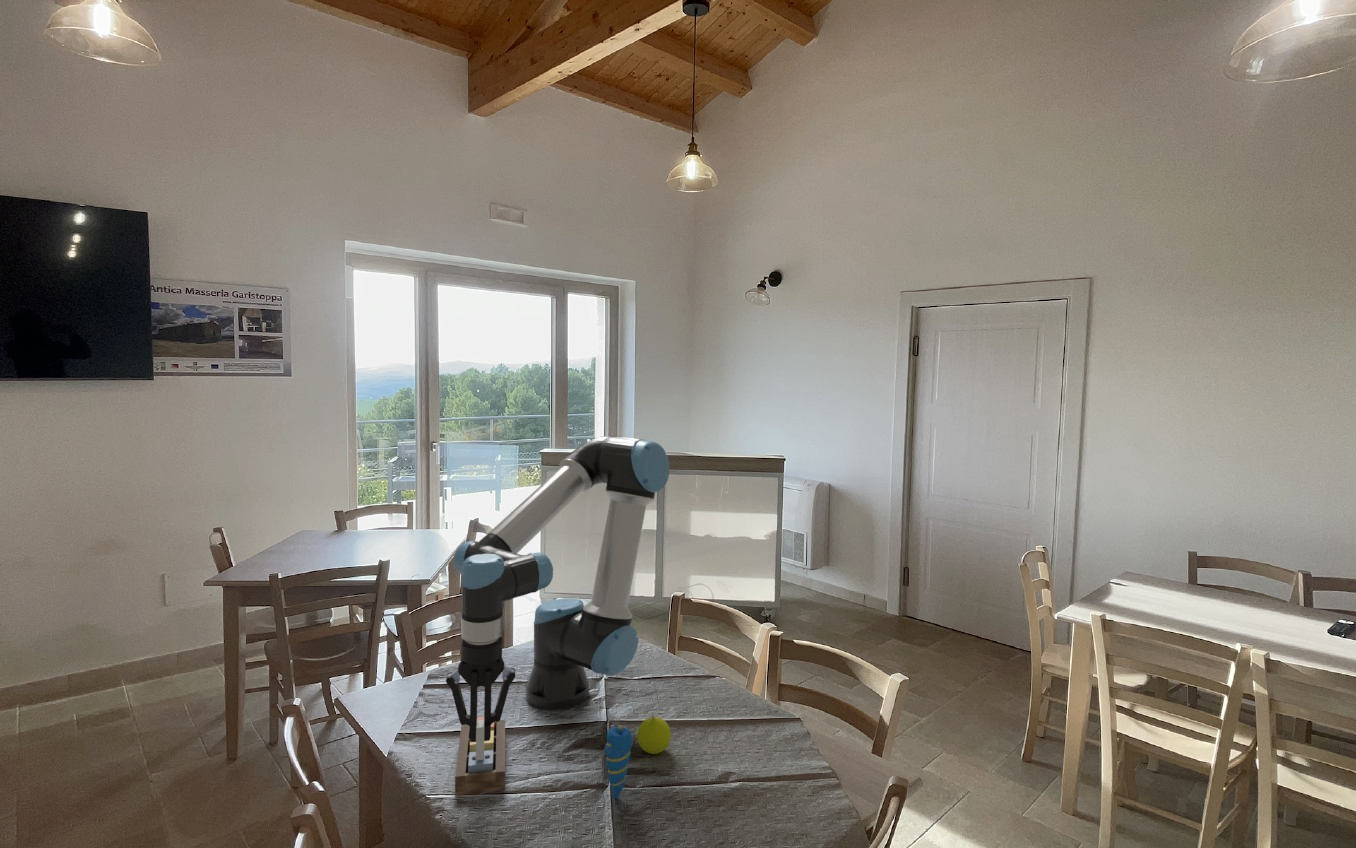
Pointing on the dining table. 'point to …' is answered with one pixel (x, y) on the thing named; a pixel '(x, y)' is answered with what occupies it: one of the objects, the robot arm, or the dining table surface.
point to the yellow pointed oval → (654, 735)
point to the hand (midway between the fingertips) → (480, 756)
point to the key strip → (484, 779)
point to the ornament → (618, 757)
